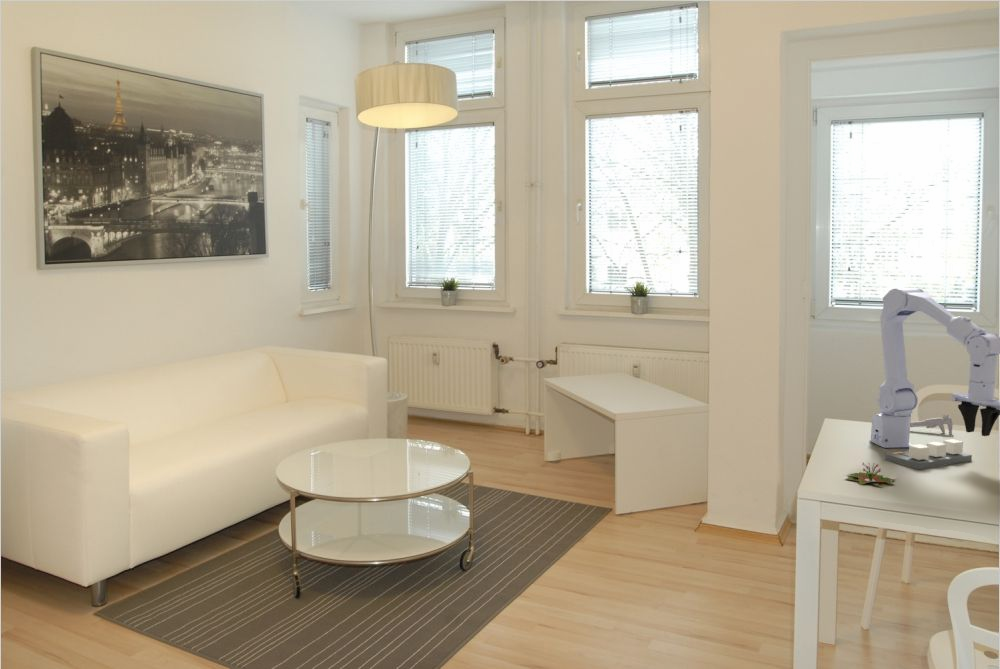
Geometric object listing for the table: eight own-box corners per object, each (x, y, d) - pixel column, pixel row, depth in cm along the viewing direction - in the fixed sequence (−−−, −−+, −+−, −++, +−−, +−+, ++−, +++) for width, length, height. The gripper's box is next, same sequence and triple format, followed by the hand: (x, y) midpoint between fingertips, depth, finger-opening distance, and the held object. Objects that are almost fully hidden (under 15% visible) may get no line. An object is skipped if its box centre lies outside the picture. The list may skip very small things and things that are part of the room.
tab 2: (953, 454, 218) (954, 443, 217) (942, 451, 220) (943, 440, 220) (962, 452, 219) (963, 441, 219) (951, 450, 222) (952, 439, 222)
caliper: (951, 434, 249) (952, 413, 248) (951, 435, 248) (953, 414, 247) (876, 428, 255) (877, 408, 254) (877, 429, 254) (878, 409, 253)
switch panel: (918, 469, 210) (919, 463, 210) (885, 459, 219) (885, 453, 219) (971, 460, 219) (971, 454, 219) (937, 451, 228) (937, 445, 228)
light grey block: (918, 459, 212) (919, 448, 212) (908, 456, 215) (909, 445, 215) (928, 458, 214) (929, 446, 213) (918, 455, 216) (919, 444, 216)
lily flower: (905, 482, 201) (907, 464, 200) (885, 493, 193) (886, 474, 192) (856, 472, 209) (857, 454, 209) (834, 481, 201) (835, 463, 201)
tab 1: (936, 457, 215) (937, 445, 215) (925, 454, 218) (926, 443, 217) (945, 455, 217) (946, 444, 216) (935, 452, 219) (936, 441, 219)
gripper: (1020, 385, 207) (1015, 438, 208) (965, 375, 220) (961, 426, 221) (1001, 387, 204) (997, 441, 205) (947, 377, 217) (944, 428, 218)
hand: (977, 433), depth 213 cm, fingers open, 4 cm apart
